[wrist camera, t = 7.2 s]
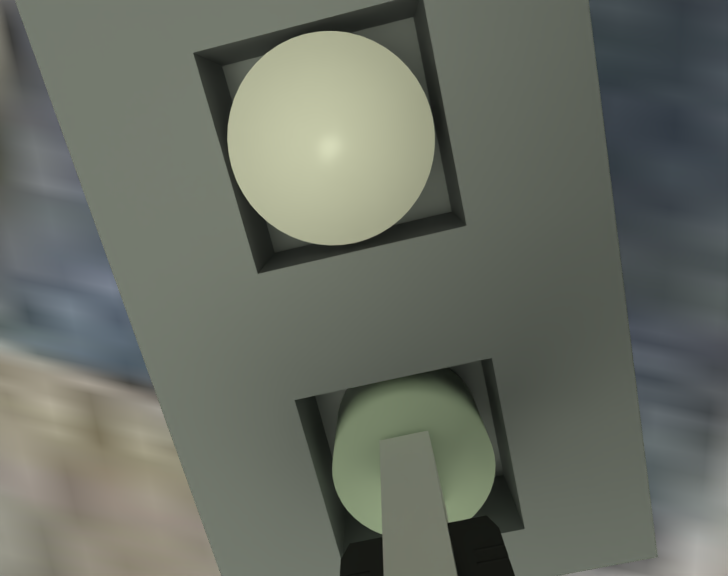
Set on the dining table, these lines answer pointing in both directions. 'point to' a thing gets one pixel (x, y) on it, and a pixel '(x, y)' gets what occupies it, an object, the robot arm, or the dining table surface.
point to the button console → (366, 268)
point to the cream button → (331, 138)
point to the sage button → (407, 416)
